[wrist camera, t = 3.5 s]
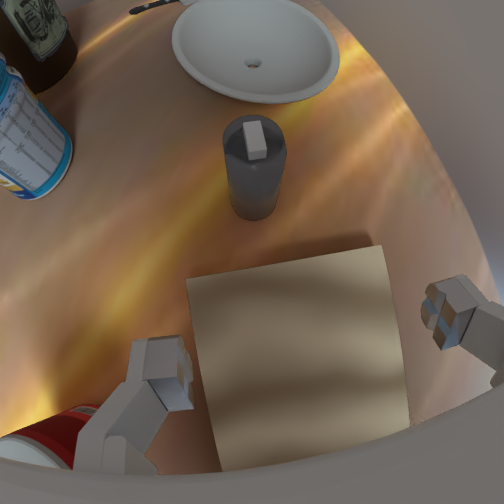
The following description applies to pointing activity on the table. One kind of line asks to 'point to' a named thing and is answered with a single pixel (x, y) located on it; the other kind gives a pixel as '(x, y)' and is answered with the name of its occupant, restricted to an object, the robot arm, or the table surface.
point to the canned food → (48, 439)
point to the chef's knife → (162, 0)
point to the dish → (256, 49)
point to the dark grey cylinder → (254, 165)
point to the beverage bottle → (29, 140)
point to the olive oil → (36, 41)
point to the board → (299, 357)
